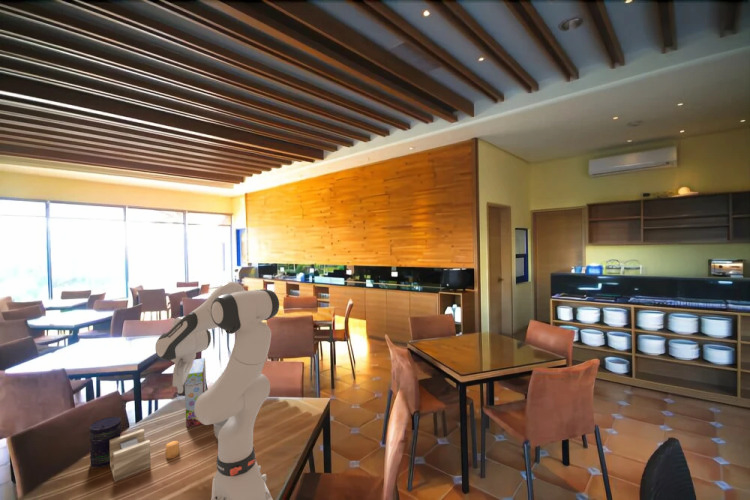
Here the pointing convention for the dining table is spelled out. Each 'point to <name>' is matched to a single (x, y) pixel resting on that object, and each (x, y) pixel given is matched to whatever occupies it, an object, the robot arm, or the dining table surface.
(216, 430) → the teacup
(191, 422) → the snack box
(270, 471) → the dining table surface
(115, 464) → the wooden napkin holder
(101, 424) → the storage jar
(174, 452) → the brown egg
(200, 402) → the robot arm
